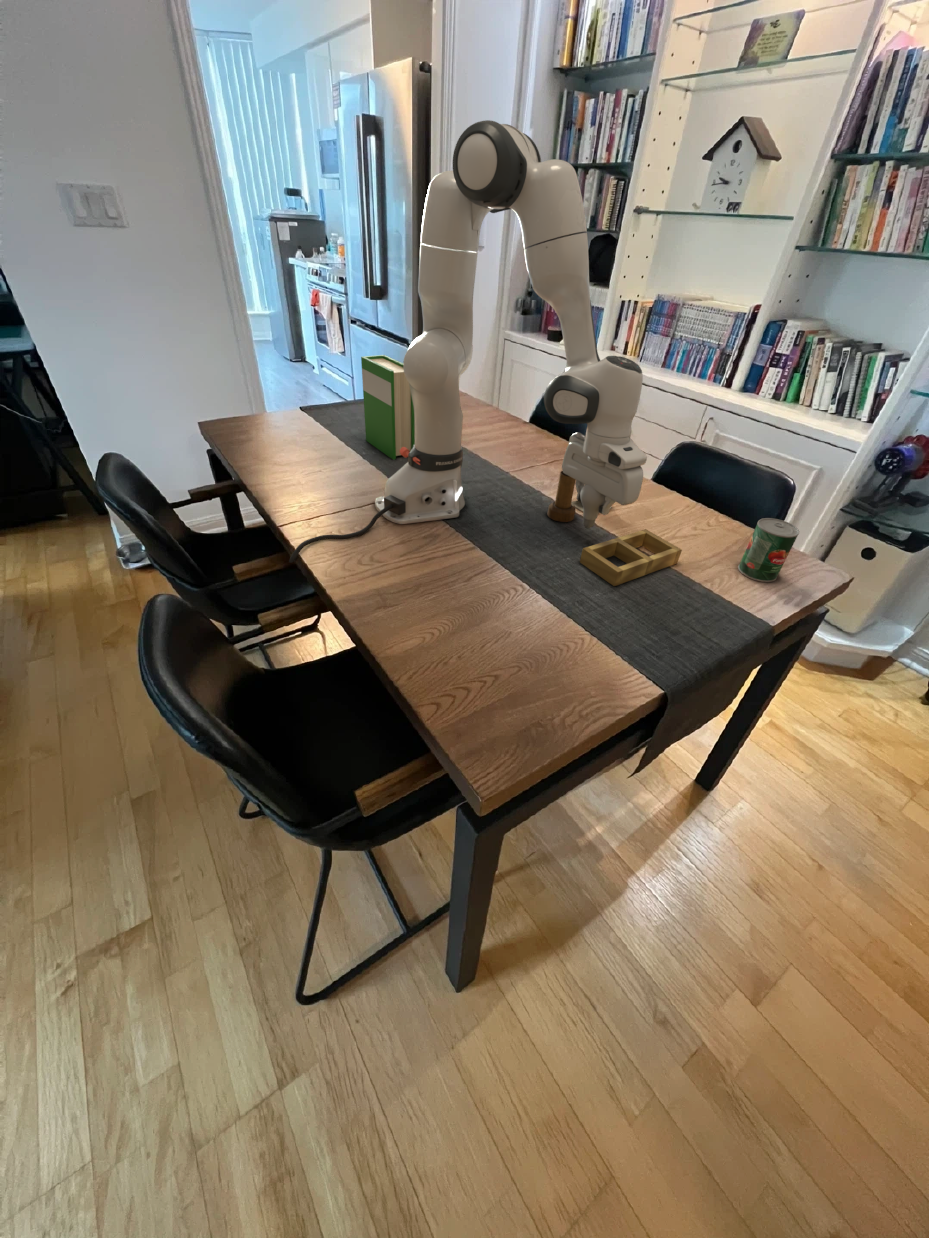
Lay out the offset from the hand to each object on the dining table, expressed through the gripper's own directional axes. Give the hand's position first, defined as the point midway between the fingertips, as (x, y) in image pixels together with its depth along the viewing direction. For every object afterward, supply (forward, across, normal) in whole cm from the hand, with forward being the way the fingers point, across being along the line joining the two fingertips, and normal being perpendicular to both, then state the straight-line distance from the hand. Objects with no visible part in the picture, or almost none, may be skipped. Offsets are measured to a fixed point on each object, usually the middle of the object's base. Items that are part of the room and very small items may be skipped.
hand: (592, 507), depth 116 cm
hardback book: (+8, -71, -15) cm, 73 cm away
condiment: (+9, -13, +14) cm, 21 cm away
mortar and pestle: (+9, -12, +3) cm, 15 cm away
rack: (+8, +12, +2) cm, 15 cm away
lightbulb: (+5, 0, 0) cm, 5 cm away
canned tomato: (+9, +28, +25) cm, 38 cm away
